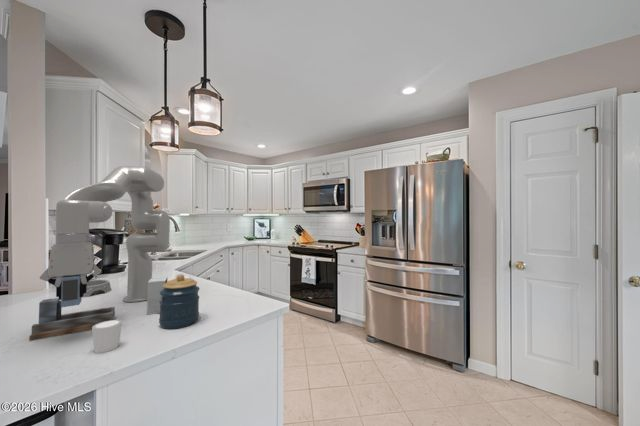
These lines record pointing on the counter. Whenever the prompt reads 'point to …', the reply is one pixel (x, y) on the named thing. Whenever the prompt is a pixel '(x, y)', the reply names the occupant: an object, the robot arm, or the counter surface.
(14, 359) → the counter surface
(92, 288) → the dog bowl
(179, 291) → the canister
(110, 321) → the white cup
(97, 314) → the rail
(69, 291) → the blue-grey block
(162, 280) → the small box
